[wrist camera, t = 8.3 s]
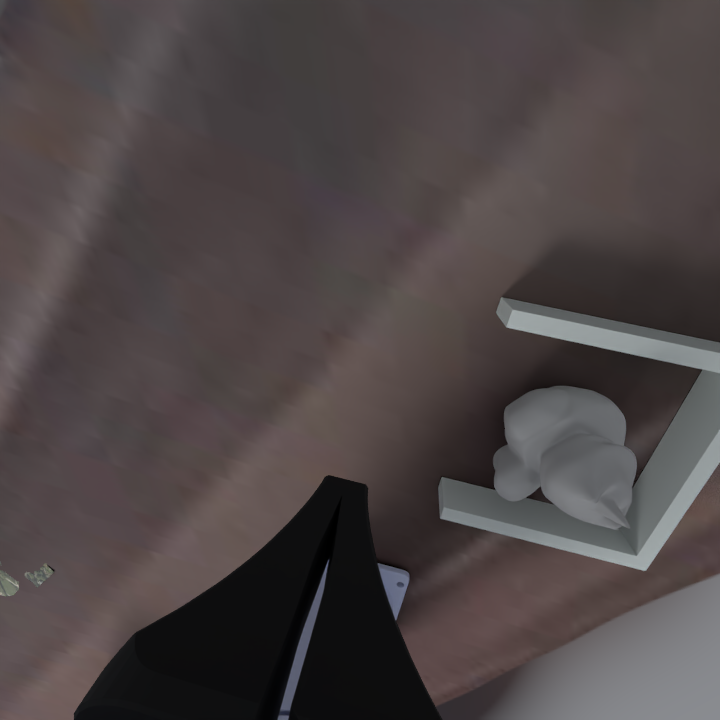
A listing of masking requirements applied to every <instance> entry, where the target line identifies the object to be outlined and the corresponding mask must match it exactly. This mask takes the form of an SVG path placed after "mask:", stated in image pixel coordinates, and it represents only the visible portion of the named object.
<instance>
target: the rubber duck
mask: <svg viewBox="0 0 720 720" xmlns="http://www.w3.org/2000/svg"><path fill="white" fill-rule="evenodd" d="M504 425H505V437H506V440H507V443H508V444H507V445H505V446H503V447H501V448H500V449H499V450H497V452H496V453H495V455H494V457H493V466H494V469H495V476H494V487H495V490H496V491H497V493H498V494H499V495H500V496H501V497H502V498H504V499H506V500H508V501H514V502H515V501H520V500H522V499H524V498H526V497H527V496H529V495H531V494H532V493H533V492H535V491H536V490H537V489H538V488H539V487H540V486H541V489H542V492H543V494H544V496H545V497H546V498H547V499H548V500H550V501H551V502H552V503H553V504H554V505H556V506H557V507H558V508H559V509H560V510H562V511H564V512H565V513H567V514H568V515H570V516H572V517H575V518H577V519H579V520H582V521H584V522H588V523H591V524H595V525H598V526H602V527H606V528H609V529H613V530H619V531H620V528H621V527H622V526H624V527H626V528H629V529H631V528H630V526H629V523H628V521H627V520H626V518H625V516H626V513H627V511H628V509H629V507H630V505H631V503H632V486H633V482H634V478H635V475H636V470H637V462H636V457H635V454H634V453H633V452H632V451H631V450H630V449H629V448H627V447H625V446H624V441H625V435H626V421H625V417H624V415H623V414H622V412H621V411H620V409H619V408H618V407H617V406H616V405H615V404H614V403H613V402H612V401H611V400H610V399H608V398H607V397H605V396H603V395H601V394H599V393H597V392H595V391H592V390H588V389H583V388H577V387H571V386H553V387H550V388H542V389H535V390H532V391H530V392H528V393H526V394H524V395H523V396H521V397H520V398H518V399H517V400H515V401H514V402H512V403H511V404H509V405H508V406H507V407H506V408H505V411H504Z"/></svg>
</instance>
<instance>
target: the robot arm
mask: <svg viewBox="0 0 720 720" xmlns="http://www.w3.org/2000/svg"><path fill="white" fill-rule="evenodd" d="M409 576H410V575H409V573H408V572H407V571H405V570H402V569H398V568H395V567H391V566H387V565H383V564H380V563H377V559H376V554H375V550H374V545H373V540H372V534H371V529H370V522H369V513H368V487H367V486H366V484H362V483H358V482H354V481H350V480H346V479H342V478H338V477H334V476H330V475H328V476H326V477H325V478H324V479H323V481H322V483H321V484H320V486H319V487H318V488H317V490H316V491H315V493H314V494H313V495H312V496H311V498H310V499H309V500H308V501H307V503H306V504H305V505H304V506H303V507H302V508H301V509H300V511H299V512H298V513H297V514H296V515H295V516H294V517H293V519H292V520H291V521H290V522H289V523H288V524H287V525H286V526H285V527H284V528H283V529H282V530H281V531H280V532H279V533H278V534H277V535H276V536H275V537H274V538H273V539H272V540H270V541H269V542H268V543H267V544H266V545H265V546H264V547H263V548H262V549H260V550H259V551H258V552H257V553H256V554H255V555H253V556H252V557H251V558H250V559H249V560H247V561H246V562H245V563H244V564H242V565H241V566H240V567H238V568H237V569H236V570H235V571H233V572H232V573H231V574H229V575H228V576H227V577H225V578H224V579H223V580H221V581H220V582H218V583H217V584H216V585H214V586H213V587H211V588H210V589H208V590H206V591H205V592H203V593H202V594H200V595H199V596H197V597H196V598H194V599H193V600H191V601H190V602H188V603H187V604H185V605H183V606H182V607H180V608H178V609H177V610H175V611H173V612H172V613H170V614H168V615H166V616H164V617H163V618H161V619H159V620H157V621H156V622H154V623H152V624H150V625H148V626H147V627H145V628H143V629H141V630H139V631H138V632H136V633H135V634H134V635H133V636H132V637H131V638H130V639H129V640H128V641H127V642H126V644H125V645H124V646H123V647H122V648H121V649H120V650H119V652H118V653H117V654H116V655H115V656H114V658H113V659H112V660H111V661H110V662H109V663H108V665H107V666H106V667H105V669H104V670H103V671H102V672H101V674H100V675H99V677H98V678H97V680H96V681H95V683H94V684H93V686H92V687H91V689H90V690H89V691H88V693H87V694H86V696H85V697H84V699H83V700H82V702H81V703H80V705H79V706H78V708H77V709H76V711H75V713H74V720H442V718H441V716H440V715H439V713H438V711H437V709H436V707H435V705H434V703H433V701H432V699H431V697H430V695H429V694H428V692H427V690H426V688H425V686H424V684H423V682H422V680H421V677H420V675H419V673H418V671H417V669H416V667H415V665H414V663H413V660H412V658H411V656H410V654H409V651H408V649H407V647H406V644H405V642H404V639H403V637H402V635H401V632H400V630H399V627H398V625H397V622H396V619H397V616H398V613H399V610H400V607H401V605H402V602H403V599H404V596H405V593H406V590H407V587H408V584H409Z"/></svg>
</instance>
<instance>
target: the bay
mask: <svg viewBox="0 0 720 720" xmlns="http://www.w3.org/2000/svg"><path fill="white" fill-rule="evenodd" d="M496 314H497V315H498V316H499V318H500V319H501V321H502V322H503V323H504V325H505V326H506V327H507V328H511V329H516V330H521V331H525V332H530V333H535V334H539V335H544V336H549V337H553V338H558V339H563V340H567V341H572V342H577V343H581V344H586V345H591V346H595V347H600V348H605V349H609V350H614V351H618V352H623V353H628V354H632V355H637V356H642V357H646V358H651V359H656V360H660V361H665V362H670V363H674V364H679V365H684V366H688V367H693V368H698V369H702V371H701V373H700V375H699V376H698V378H697V380H696V382H695V383H694V385H693V387H692V388H691V390H690V392H689V393H688V395H687V397H686V399H685V400H684V402H683V404H682V405H681V407H680V409H679V410H678V412H677V414H676V415H675V417H674V419H673V421H672V422H671V424H670V426H669V427H668V429H667V431H666V432H665V434H664V436H663V438H662V439H661V441H660V443H659V444H658V446H657V448H656V449H655V451H654V453H653V454H652V456H651V458H650V460H649V461H648V463H647V465H646V466H645V468H644V470H643V471H642V473H641V475H640V477H639V478H638V480H637V482H636V483H635V485H634V487H633V488H632V503H631V505H630V507H629V509H628V511H627V513H626V516H625V518H626V520H627V521H628V523H629V526H630V528H631V529H629V528H626V527H624V526H622V527H621V528H620V531H619V530H613V529H609V528H606V527H602V526H598V525H595V524H591V523H588V522H584V521H582V520H579V519H577V518H575V517H572V516H570V515H568V514H567V513H565V512H564V511H562V510H560V509H559V508H558V507H557V506H556V505H553V504H549V503H545V502H541V501H537V500H533V499H529V498H524V499H522V500H520V501H515V502H514V501H508V500H506V499H504V498H502V497H501V496H500V495H499V494H498V493H497V491H496V490H493V489H489V488H485V487H481V486H477V485H473V484H469V483H465V482H461V481H457V480H452V479H448V478H444V477H441V480H440V483H439V487H438V492H439V510H440V519H444V520H448V521H452V522H456V523H460V524H464V525H468V526H472V527H475V528H479V529H483V530H487V531H491V532H495V533H499V534H503V535H507V536H511V537H514V538H518V539H522V540H526V541H530V542H534V543H538V544H542V545H546V546H550V547H554V548H557V549H561V550H565V551H569V552H573V553H577V554H581V555H585V556H589V557H593V558H597V559H600V560H604V561H608V562H612V563H616V564H620V565H624V566H628V567H632V568H636V569H639V570H643V571H646V570H647V568H648V567H649V565H650V564H651V562H652V561H653V559H654V558H655V557H656V555H657V554H658V552H659V551H660V549H661V548H662V546H663V545H664V543H665V542H666V540H667V539H668V537H669V536H670V535H671V533H672V532H673V530H674V529H675V527H676V526H677V524H678V523H679V521H680V520H681V518H682V517H683V515H684V514H685V513H686V511H687V510H688V508H689V507H690V505H691V504H692V502H693V501H694V499H695V498H696V496H697V495H698V493H699V492H700V491H701V489H702V488H703V486H704V485H705V483H706V482H707V480H708V479H709V477H710V476H711V474H712V473H713V471H714V470H715V469H716V467H717V466H718V464H719V463H720V343H719V342H714V341H710V340H705V339H700V338H695V337H690V336H686V335H681V334H676V333H671V332H666V331H662V330H657V329H652V328H647V327H642V326H638V325H633V324H628V323H623V322H619V321H614V320H609V319H604V318H599V317H595V316H590V315H585V314H580V313H575V312H571V311H566V310H561V309H556V308H551V307H547V306H542V305H537V304H532V303H527V302H523V301H518V300H513V299H508V298H503V297H501V299H500V302H499V305H498V308H497V311H496Z"/></svg>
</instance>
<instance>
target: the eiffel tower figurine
mask: <svg viewBox="0 0 720 720" xmlns="http://www.w3.org/2000/svg"><path fill="white" fill-rule="evenodd" d="M0 565H2V564H1V562H0ZM34 572H35V574H33V573H30V572H27V573H25V577H26V578H27V579H29V580H30V581H31V582H33V584H34V585H35V586H36V587H37V588H38V587H39V586H40V585H41V584H42V583H43V582H44V581H45V580H46V579H47V578H48V577H49V576H50V575H51V574H53V573H54V572H53V571H52V570H51V569H50V568H49V566H48V565H47V564H46V563H45V564H44V565H43V566H42V567H41V568H40V570H39V571H34ZM18 583H19V582H17V581H16V580H14V579H13V578H12V577H10V576H9V575H8V574H6V573H5V572H3V571H1V570H0V595H3V596H12V595H15V593H16V591H19V586H18Z"/></svg>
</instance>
